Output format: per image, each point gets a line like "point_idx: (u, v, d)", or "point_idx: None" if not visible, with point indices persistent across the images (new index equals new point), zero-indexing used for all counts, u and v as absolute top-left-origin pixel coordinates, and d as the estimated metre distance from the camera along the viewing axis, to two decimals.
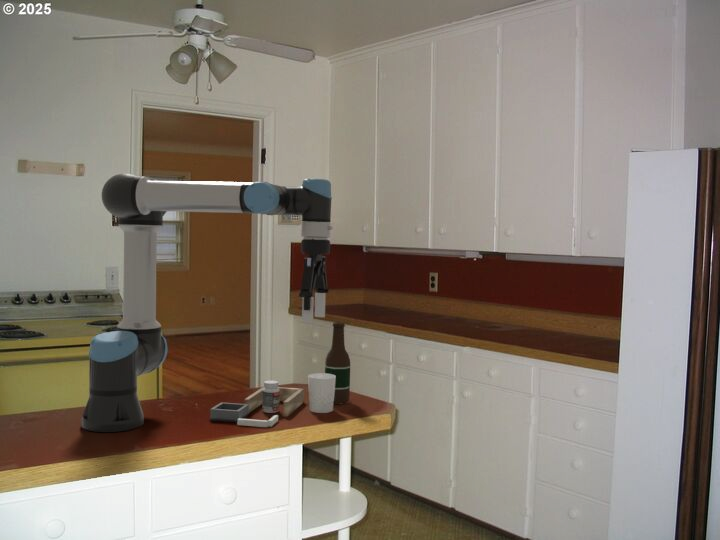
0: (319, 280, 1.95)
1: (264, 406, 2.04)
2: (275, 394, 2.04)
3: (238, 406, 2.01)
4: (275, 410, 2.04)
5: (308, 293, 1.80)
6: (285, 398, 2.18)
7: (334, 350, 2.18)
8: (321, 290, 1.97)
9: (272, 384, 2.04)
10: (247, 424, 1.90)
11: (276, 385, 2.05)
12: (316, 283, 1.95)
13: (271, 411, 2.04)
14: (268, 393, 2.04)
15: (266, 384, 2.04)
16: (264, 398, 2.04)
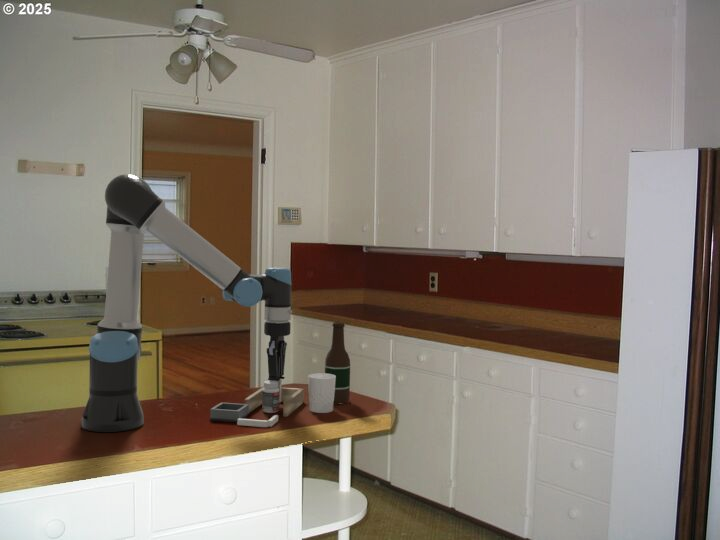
0: None
1: (264, 406, 2.04)
2: (275, 394, 2.04)
3: (238, 406, 2.01)
4: (275, 410, 2.04)
5: (276, 379, 2.07)
6: (285, 398, 2.18)
7: (333, 350, 2.18)
8: None
9: (272, 384, 2.04)
10: (247, 424, 1.90)
11: (276, 385, 2.04)
12: None
13: (271, 411, 2.04)
14: (268, 393, 2.03)
15: (266, 384, 2.04)
16: (263, 398, 2.04)
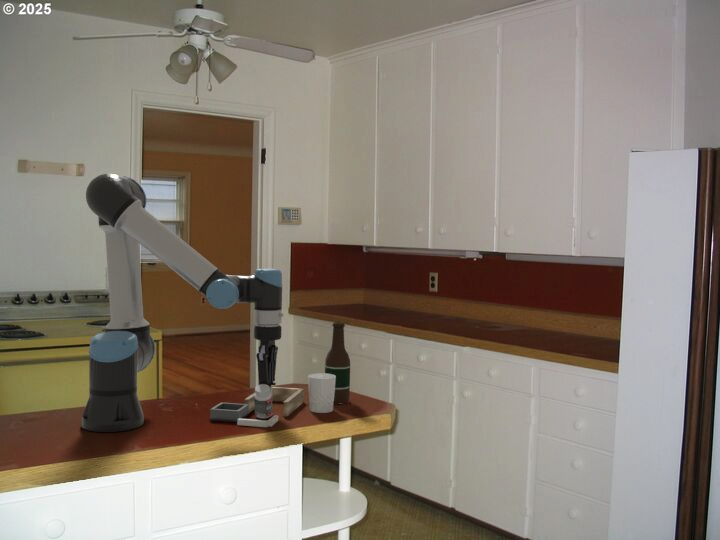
0: None
1: (257, 412, 1.97)
2: (268, 401, 1.96)
3: (238, 406, 2.01)
4: (269, 415, 1.98)
5: None
6: (285, 398, 2.18)
7: (334, 350, 2.18)
8: None
9: (264, 393, 1.94)
10: (247, 424, 1.90)
11: (268, 392, 1.95)
12: None
13: (265, 417, 1.97)
14: (260, 401, 1.95)
15: (258, 393, 1.95)
16: (256, 405, 1.96)
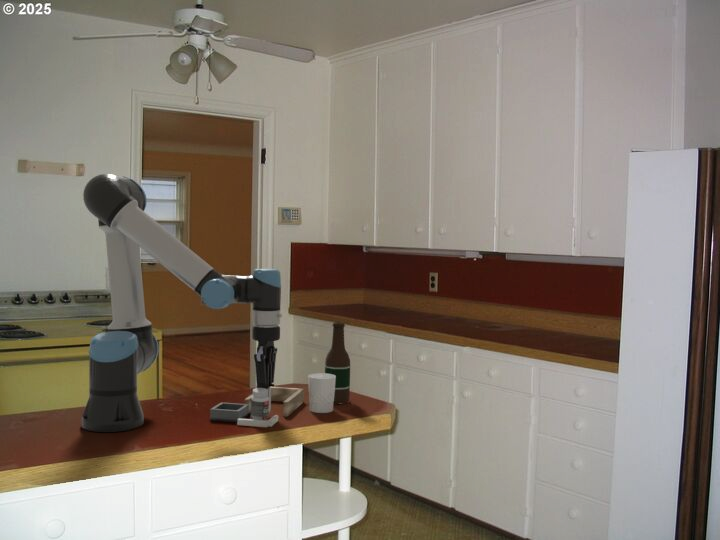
0: None
1: (253, 416, 1.93)
2: (265, 403, 1.93)
3: (238, 406, 2.01)
4: None
5: (264, 387, 1.96)
6: (285, 398, 2.18)
7: (334, 350, 2.18)
8: None
9: (262, 393, 1.92)
10: (247, 424, 1.90)
11: (266, 394, 1.93)
12: None
13: None
14: (258, 402, 1.92)
15: (256, 393, 1.92)
16: (253, 407, 1.93)
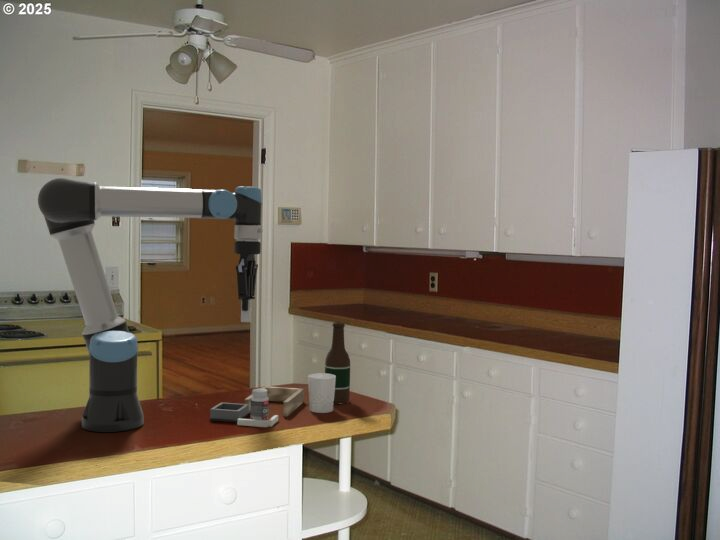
0: None
1: (253, 416, 1.93)
2: (265, 403, 1.93)
3: (238, 406, 2.01)
4: None
5: (245, 297, 2.07)
6: (285, 398, 2.18)
7: (334, 350, 2.18)
8: None
9: (261, 393, 1.93)
10: (247, 424, 1.90)
11: (265, 394, 1.94)
12: None
13: None
14: (257, 402, 1.93)
15: (255, 393, 1.93)
16: (252, 407, 1.93)
